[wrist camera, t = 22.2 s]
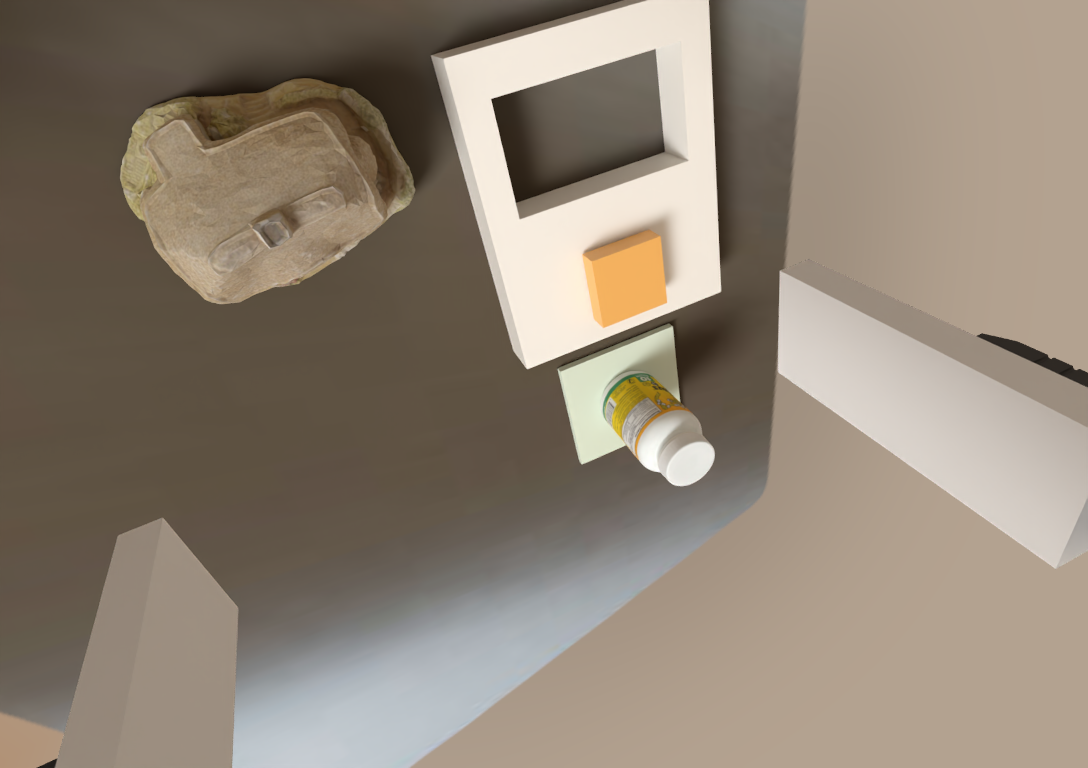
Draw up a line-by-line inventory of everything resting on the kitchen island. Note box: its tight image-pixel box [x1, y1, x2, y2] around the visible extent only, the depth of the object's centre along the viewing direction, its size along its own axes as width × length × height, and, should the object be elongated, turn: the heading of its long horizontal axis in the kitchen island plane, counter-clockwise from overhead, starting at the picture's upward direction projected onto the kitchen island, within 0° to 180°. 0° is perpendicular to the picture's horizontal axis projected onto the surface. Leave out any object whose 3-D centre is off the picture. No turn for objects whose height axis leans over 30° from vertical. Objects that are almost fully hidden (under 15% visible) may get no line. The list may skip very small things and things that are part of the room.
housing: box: [431, 0, 721, 369], centre depth 41 cm, size 16×20×3 cm
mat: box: [558, 323, 680, 464], centre depth 52 cm, size 10×10×1 cm
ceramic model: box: [120, 78, 415, 304], centre depth 31 cm, size 14×11×10 cm
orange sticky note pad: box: [582, 230, 667, 328], centre depth 43 cm, size 5×5×4 cm
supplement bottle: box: [600, 371, 715, 486], centre depth 48 cm, size 5×5×10 cm
